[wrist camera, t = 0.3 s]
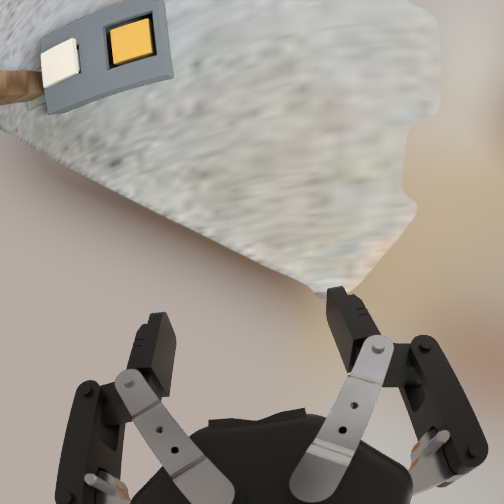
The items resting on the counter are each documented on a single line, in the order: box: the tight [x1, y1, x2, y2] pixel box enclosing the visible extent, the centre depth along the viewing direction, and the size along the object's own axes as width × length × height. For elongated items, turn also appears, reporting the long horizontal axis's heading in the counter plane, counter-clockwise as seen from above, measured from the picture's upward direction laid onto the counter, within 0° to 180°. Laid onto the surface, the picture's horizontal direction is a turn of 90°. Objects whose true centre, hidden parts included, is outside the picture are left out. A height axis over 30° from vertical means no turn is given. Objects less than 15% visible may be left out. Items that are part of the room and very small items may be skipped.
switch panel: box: [40, 0, 174, 115], centre depth 26 cm, size 12×17×5 cm
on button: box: [41, 38, 81, 88], centre depth 24 cm, size 5×5×4 cm
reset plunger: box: [110, 18, 156, 65], centre depth 26 cm, size 5×5×2 cm
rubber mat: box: [26, 67, 46, 111], centre depth 28 cm, size 6×6×1 cm
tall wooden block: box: [0, 71, 45, 105], centre depth 23 cm, size 4×4×11 cm
